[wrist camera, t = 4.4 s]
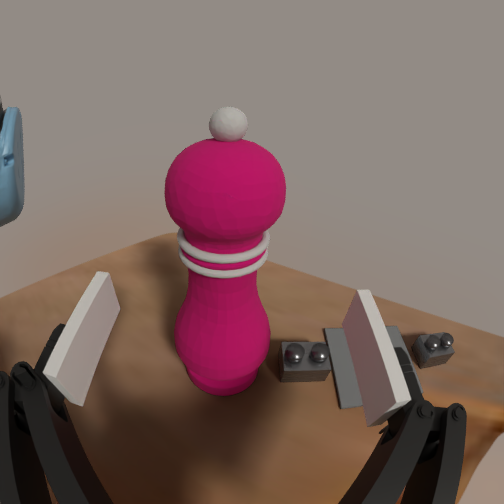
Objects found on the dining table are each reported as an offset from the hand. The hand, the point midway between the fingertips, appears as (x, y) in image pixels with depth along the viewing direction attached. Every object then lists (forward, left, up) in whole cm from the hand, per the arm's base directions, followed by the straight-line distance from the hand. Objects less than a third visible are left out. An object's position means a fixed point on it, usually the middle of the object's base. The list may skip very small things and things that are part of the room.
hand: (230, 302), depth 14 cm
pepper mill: (-1, +3, -11) cm, 11 cm away
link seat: (+14, +3, -11) cm, 18 cm away
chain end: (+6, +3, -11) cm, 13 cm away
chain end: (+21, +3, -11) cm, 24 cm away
